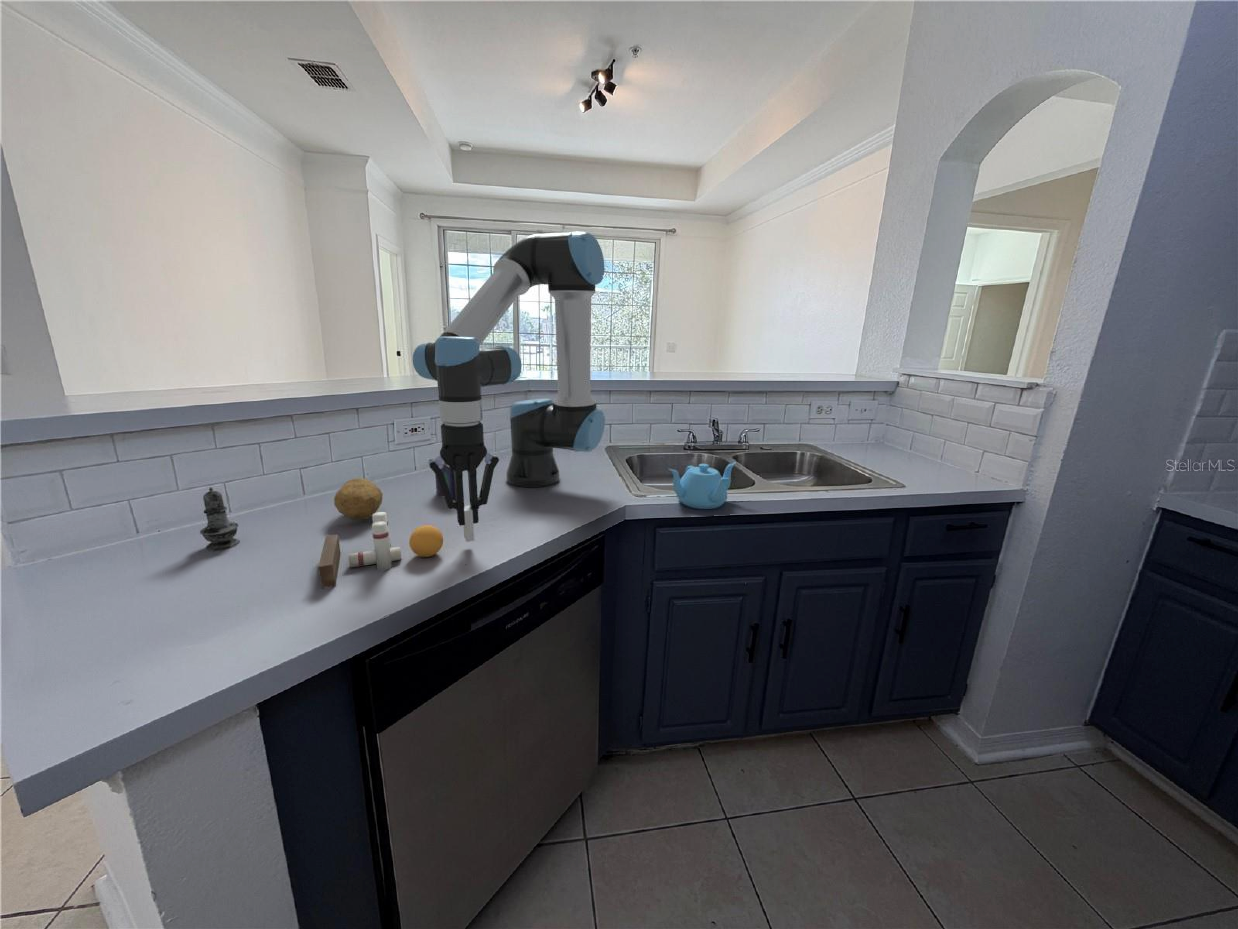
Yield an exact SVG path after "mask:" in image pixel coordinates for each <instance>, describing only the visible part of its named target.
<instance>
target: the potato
mask: <svg viewBox="0 0 1238 929" xmlns="http://www.w3.org/2000/svg"><path fill="white" fill-rule="evenodd" d="M333 502H334V508H336V509H337V511H338V513H339V514H342V515H344V516H345V517H347V518H350V519H352V520H363V521H364V520H366V519H369V518H370V517H372V515H373V514H374V513H377V511H378V509H379V508H380V507H381V505H382V502H383V492H382V490H381V489H380V488H379V487H378V486H377V485H375V483H374V482H372V481H371V480H368V479H365V478H357V477H356V478H352V479H349V480H348V481H346V482H345V483H343V485H342V486H341V487H340V488H339V489H338V491H336V493H335V496H334V498H333Z"/></svg>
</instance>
